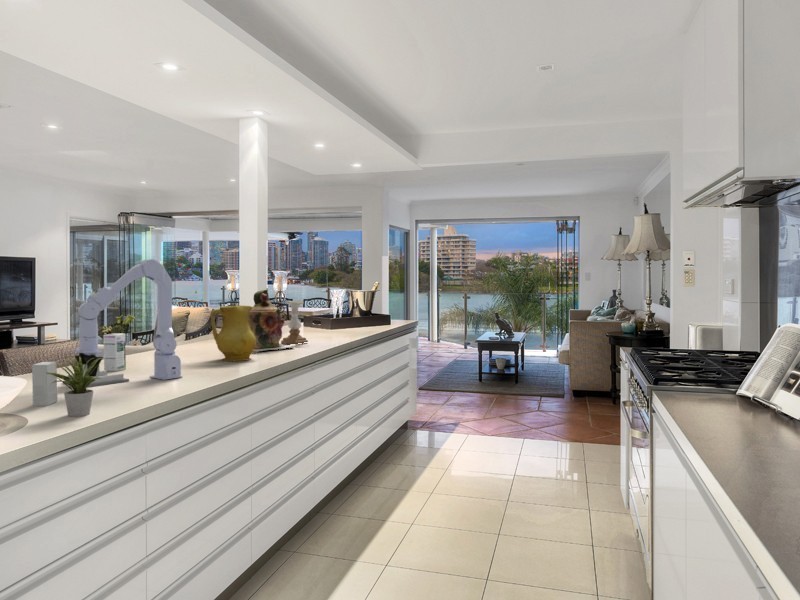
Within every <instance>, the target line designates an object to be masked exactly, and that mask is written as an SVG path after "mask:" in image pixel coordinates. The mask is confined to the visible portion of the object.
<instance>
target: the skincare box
mask: <svg viewBox="0 0 800 600" xmlns="http://www.w3.org/2000/svg"><path fill="white" fill-rule="evenodd" d="M53 362H54V361H41V362H38V363H34V364H32V365H31V370H32V372H31V373H32V374H31V376H32V377H31V379H32V381H31V383H32V406H33V407H47V406H49V405H53V404H54V403H56V402H58V382H54V381H58V379H57V378H58V377H56V376H54V375H51V374H47V373H57V371H58V368H57V367H58V366H57V365H58V362H56V363H53ZM57 374H58V373H57ZM54 377H56V378H54ZM53 382H54V383H53Z"/></svg>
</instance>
